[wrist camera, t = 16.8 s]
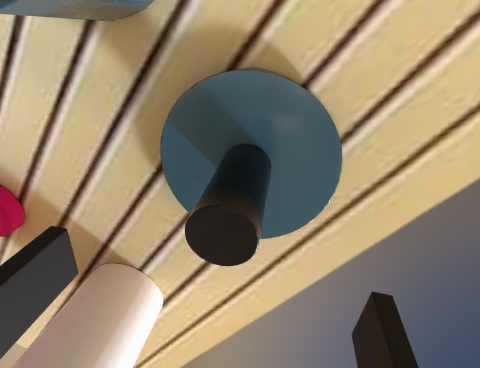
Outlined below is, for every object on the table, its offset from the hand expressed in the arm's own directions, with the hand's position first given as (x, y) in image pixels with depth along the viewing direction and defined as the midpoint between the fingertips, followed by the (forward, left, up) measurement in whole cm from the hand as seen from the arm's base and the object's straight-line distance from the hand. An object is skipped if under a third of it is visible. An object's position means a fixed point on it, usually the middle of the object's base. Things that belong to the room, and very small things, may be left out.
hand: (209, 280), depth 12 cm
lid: (0, 0, -12) cm, 12 cm away
